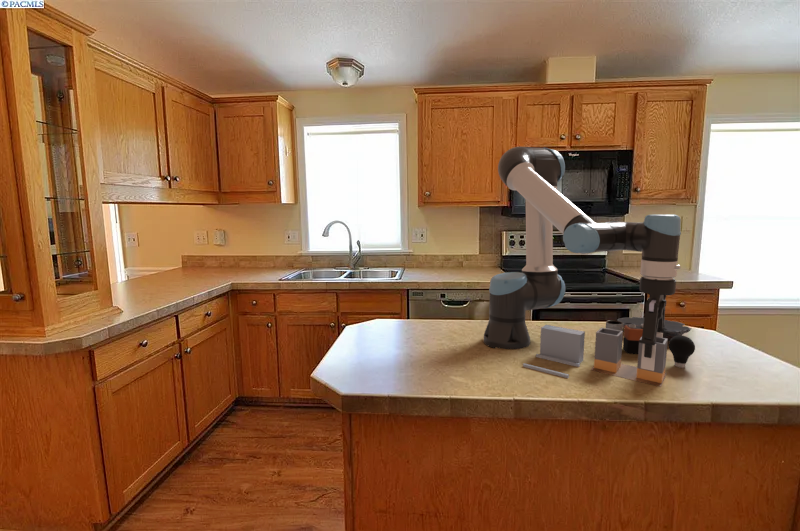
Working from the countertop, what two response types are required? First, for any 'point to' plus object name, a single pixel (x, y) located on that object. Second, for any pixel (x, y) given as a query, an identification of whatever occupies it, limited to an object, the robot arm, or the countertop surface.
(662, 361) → the sleeve
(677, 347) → the light bulb
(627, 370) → the pinboard
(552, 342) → the feeder
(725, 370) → the countertop surface
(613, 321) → the planter
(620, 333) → the seated sleeve
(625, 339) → the battery
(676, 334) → the board
